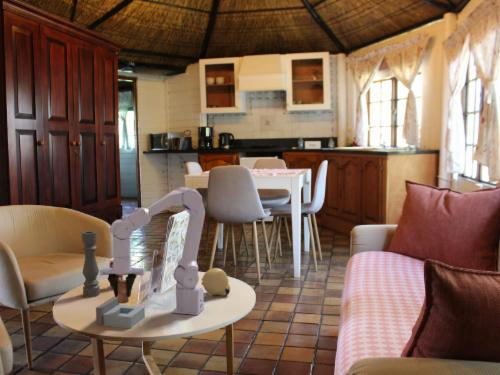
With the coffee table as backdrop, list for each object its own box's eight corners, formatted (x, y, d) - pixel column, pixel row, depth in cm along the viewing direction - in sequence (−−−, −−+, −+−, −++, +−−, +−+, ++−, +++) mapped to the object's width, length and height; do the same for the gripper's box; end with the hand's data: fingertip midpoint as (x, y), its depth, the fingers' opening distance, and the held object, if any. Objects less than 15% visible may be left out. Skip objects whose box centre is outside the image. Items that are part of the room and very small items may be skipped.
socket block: (144, 318, 169) (144, 307, 169) (131, 329, 160) (131, 317, 159) (118, 315, 172) (118, 304, 171) (103, 326, 162) (103, 314, 161)
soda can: (111, 285, 206) (110, 257, 205) (124, 285, 206) (123, 257, 205) (108, 289, 201) (107, 260, 200) (121, 289, 201) (120, 260, 200)
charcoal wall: (119, 313, 173) (119, 296, 172) (102, 326, 161) (101, 308, 161) (114, 313, 173) (113, 296, 173) (96, 325, 162) (95, 307, 161)
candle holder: (95, 297, 190) (93, 234, 188) (80, 296, 191) (78, 233, 189) (102, 292, 197) (100, 231, 194) (87, 292, 198) (85, 230, 195)
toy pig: (216, 307, 190) (237, 289, 189) (195, 285, 188) (216, 267, 188) (216, 298, 200) (236, 281, 199) (196, 277, 198) (216, 260, 197)
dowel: (129, 300, 166) (129, 279, 165) (126, 303, 162) (126, 282, 162) (119, 300, 166) (118, 279, 165) (116, 303, 163) (115, 282, 162)
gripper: (146, 253, 167) (147, 292, 168) (103, 253, 167) (105, 292, 168) (141, 258, 160) (142, 299, 161) (97, 258, 160) (98, 298, 161)
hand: (122, 296), depth 164 cm, fingers closed on dowel, 3 cm apart
